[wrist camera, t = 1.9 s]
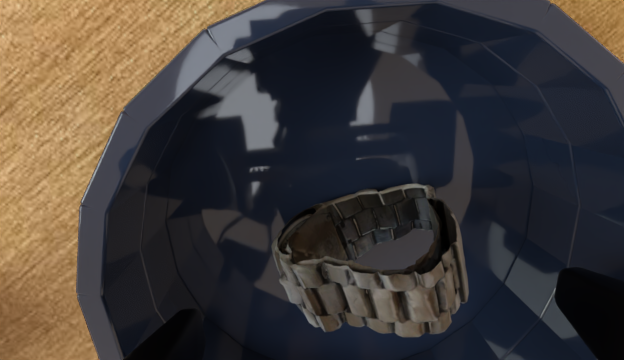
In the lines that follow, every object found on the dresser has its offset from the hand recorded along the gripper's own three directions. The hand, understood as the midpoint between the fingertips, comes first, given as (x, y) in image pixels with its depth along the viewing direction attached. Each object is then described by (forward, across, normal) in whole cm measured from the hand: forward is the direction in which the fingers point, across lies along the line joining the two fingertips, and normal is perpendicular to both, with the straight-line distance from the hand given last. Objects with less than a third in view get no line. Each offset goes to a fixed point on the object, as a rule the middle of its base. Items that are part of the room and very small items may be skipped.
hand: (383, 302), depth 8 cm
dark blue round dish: (+4, 0, 0) cm, 4 cm away
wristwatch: (+4, 0, 0) cm, 4 cm away
